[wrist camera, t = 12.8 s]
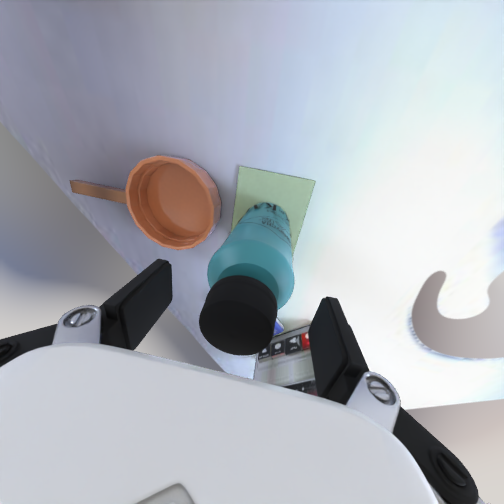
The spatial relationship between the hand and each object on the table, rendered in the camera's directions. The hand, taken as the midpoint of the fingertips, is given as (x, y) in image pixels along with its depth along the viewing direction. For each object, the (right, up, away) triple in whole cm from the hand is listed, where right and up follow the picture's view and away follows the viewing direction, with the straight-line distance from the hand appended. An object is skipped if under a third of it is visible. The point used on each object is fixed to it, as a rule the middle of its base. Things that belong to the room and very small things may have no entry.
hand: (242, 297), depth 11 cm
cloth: (+3, +7, +16) cm, 18 cm away
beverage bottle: (+3, +7, +16) cm, 18 cm away
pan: (-10, +10, +17) cm, 22 cm away
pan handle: (-20, +11, +15) cm, 28 cm away
